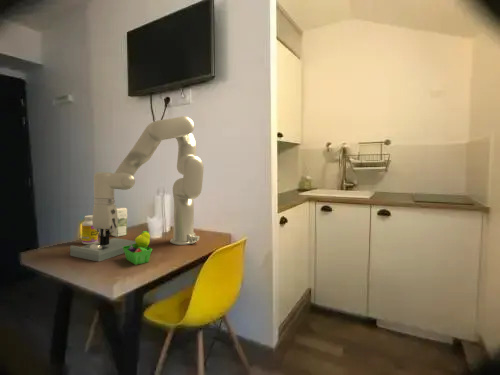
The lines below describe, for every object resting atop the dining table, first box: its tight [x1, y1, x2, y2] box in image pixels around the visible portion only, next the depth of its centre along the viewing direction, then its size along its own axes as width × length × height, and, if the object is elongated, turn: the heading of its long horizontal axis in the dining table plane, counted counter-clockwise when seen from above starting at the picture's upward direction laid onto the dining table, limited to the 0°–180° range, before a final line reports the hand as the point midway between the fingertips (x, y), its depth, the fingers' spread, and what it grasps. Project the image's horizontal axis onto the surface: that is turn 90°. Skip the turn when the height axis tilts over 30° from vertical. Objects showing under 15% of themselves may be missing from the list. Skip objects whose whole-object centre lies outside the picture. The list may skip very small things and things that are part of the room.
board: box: [69, 237, 136, 262], centre depth 122 cm, size 16×22×4 cm
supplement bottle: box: [81, 214, 99, 245], centre depth 134 cm, size 7×7×13 cm
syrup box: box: [110, 207, 128, 238], centre depth 149 cm, size 6×6×14 cm
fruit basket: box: [123, 230, 153, 266], centre depth 111 cm, size 11×9×11 cm
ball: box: [89, 243, 102, 250], centre depth 117 cm, size 5×5×5 cm
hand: (104, 244), depth 120 cm, fingers closed
